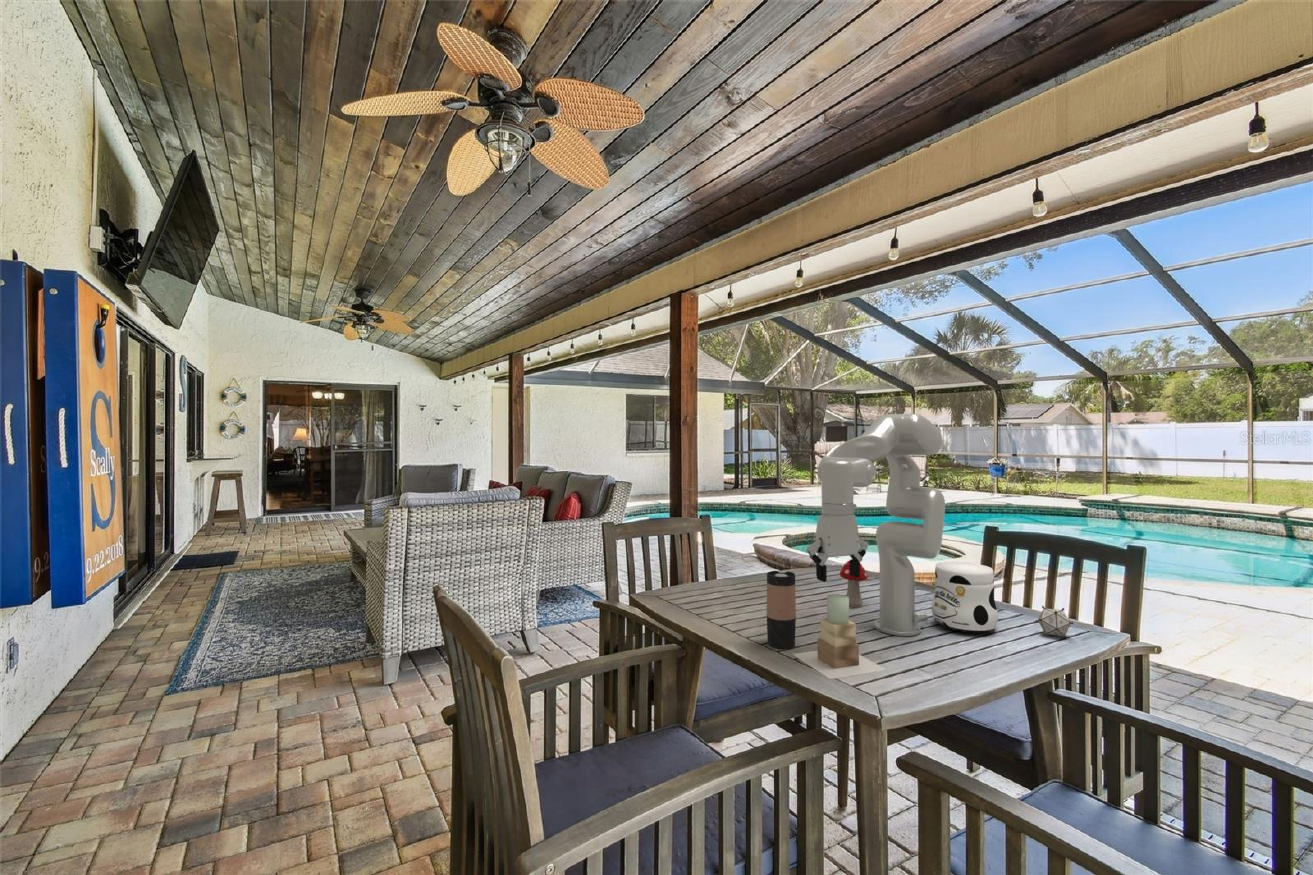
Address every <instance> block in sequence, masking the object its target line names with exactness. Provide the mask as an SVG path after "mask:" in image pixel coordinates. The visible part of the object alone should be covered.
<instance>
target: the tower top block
mask: <svg viewBox="0 0 1313 875" xmlns="http://www.w3.org/2000/svg"><path fill="white" fill-rule="evenodd" d="M819 621H820V623H819V624H820V625H819V627H820V630H819V631H820V635H819V636H820V637H819V638H820V639H822V640H823V641H825V642H827V643H829V644H830V645H832V646H834V647H839V646H846V645H853V644H856V643H857V631H856V630H857V624H856V623H855V622H853V621H851V620H849V623H848V624H845V625H837V624H832V623H829V622H828V621H827V617H826V618H820V620H819Z"/></svg>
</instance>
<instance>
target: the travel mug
mask: <svg viewBox="0 0 1313 875" xmlns="http://www.w3.org/2000/svg"><path fill="white" fill-rule="evenodd" d="M796 596H797V595H796V573H794V572H793V571H785V572H779V571H778V570H771V571H768V572H766V631H767V632H766V635H767V645H768V646H769V647H770V648H772V649H776V650H783V651H784V650H792V649H794V648H795V646H796V624H797V622H796V621H797V619H796V617H797V616H796V614H797V613H796V612H797V611H796V610H797V607H796V606H797V605H796V602H797V601H796Z"/></svg>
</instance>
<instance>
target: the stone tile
mask: <svg viewBox="0 0 1313 875" xmlns="http://www.w3.org/2000/svg"><path fill="white" fill-rule="evenodd" d="M792 656H794V657H796V658H797V659H798V660H800V661H802V662H803V663H805V665H808V666H809V667H811V668H812V669H814V670H815V671H817V672H819V673H820V674H821V675H823V676H824V677H826V678H828V679H829V680H833V679H838V678H839V679H840V678H845V677H846V678H847V677H852V676H857V675H858V676H859V675H865V674H870V673H877V672H881V671H882V672H883V671H888V669H886V668H884V667H882V666H881V665H879V664H877V663H875V662H873V661H871V660H870V659H868V658H867V657H864V656H863V655H861V654H859V665H857V666H850V667H844V668H837V669H834V668H832V667H831V666H829V665H828V664H826V663H824V662H823V661H821V660H819V659H818V650H812V651H805V652H804V651H803V652H799V653H798V652H797V653H792Z"/></svg>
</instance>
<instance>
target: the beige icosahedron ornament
mask: <svg viewBox="0 0 1313 875" xmlns="http://www.w3.org/2000/svg"><path fill="white" fill-rule="evenodd" d="M1041 608H1042V609H1043V610H1042V611H1041V614H1040V616H1039V617H1038V619H1036V620H1035V622H1036V623H1038V624H1039V626H1040V627H1041V628H1042V630H1043V632H1044V633H1043V637H1045V636H1047V635H1050V636H1060V637H1063V638H1064V639H1065V640H1067V636H1066V634H1067V632H1068V631H1069V628H1070V626H1071V625H1075V622H1073V621H1072V622H1071V621H1070V619H1069V618H1068V617H1067V615H1066V613H1065V607H1063V608H1062V609H1057V608H1045V606H1043V605H1041Z"/></svg>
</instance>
